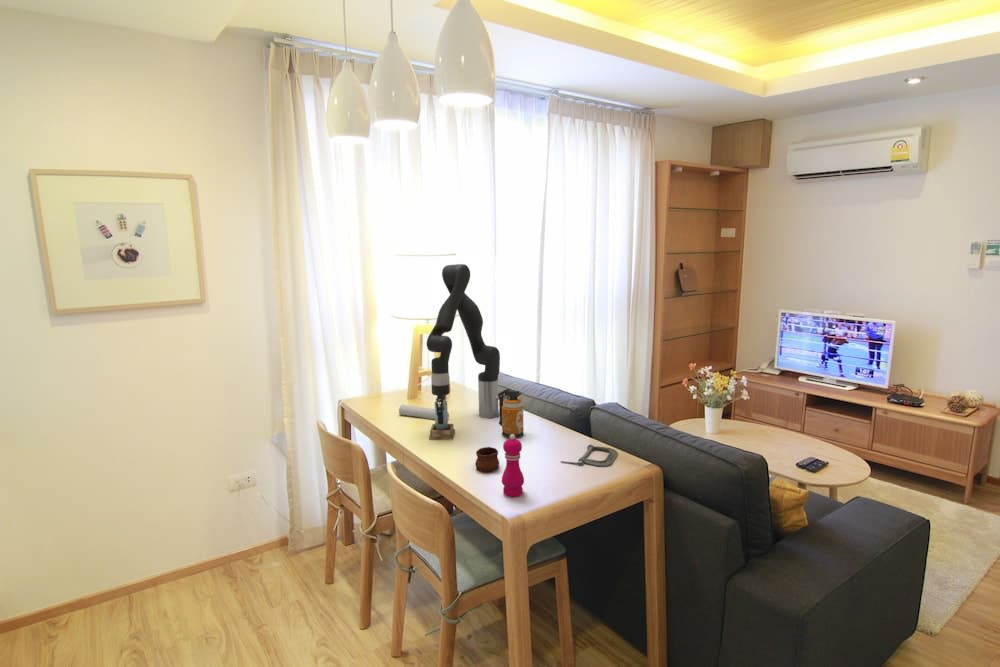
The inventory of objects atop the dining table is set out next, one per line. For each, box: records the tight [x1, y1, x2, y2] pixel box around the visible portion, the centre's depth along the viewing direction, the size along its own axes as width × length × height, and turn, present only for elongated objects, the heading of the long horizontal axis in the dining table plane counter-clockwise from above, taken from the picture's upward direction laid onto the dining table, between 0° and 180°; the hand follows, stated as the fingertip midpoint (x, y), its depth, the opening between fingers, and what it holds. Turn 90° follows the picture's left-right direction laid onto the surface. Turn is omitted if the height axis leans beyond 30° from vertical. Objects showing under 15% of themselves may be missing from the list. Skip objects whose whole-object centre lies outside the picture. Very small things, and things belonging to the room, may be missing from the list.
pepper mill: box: [501, 434, 525, 498], centre depth 176 cm, size 7×7×20 cm
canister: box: [498, 388, 524, 439], centre depth 230 cm, size 9×11×20 cm
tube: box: [398, 403, 450, 420], centre depth 257 cm, size 5×5×25 cm
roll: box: [434, 400, 449, 429], centre depth 231 cm, size 5×5×11 cm
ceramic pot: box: [475, 446, 500, 474], centre depth 198 cm, size 18×18×7 cm
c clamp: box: [560, 444, 619, 468], centre depth 206 cm, size 20×17×3 cm
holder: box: [428, 423, 456, 441], centre depth 232 cm, size 10×10×4 cm
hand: (441, 421), depth 232 cm, fingers closed on roll, 5 cm apart
